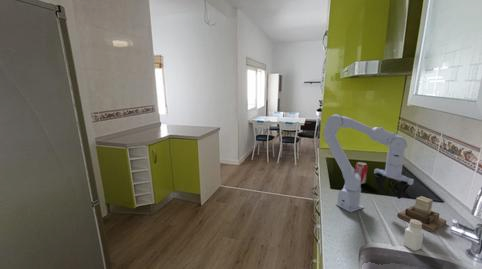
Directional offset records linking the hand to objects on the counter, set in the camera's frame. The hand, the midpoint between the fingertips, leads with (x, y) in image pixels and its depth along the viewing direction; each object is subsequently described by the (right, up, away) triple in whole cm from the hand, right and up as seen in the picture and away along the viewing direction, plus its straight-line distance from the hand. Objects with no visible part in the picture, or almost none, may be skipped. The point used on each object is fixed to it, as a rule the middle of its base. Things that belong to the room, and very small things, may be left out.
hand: (389, 194), depth 93 cm
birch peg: (+11, -9, -3) cm, 14 cm away
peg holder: (+11, -10, -3) cm, 15 cm away
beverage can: (+7, -3, +36) cm, 37 cm away
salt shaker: (-5, -13, -18) cm, 23 cm away
